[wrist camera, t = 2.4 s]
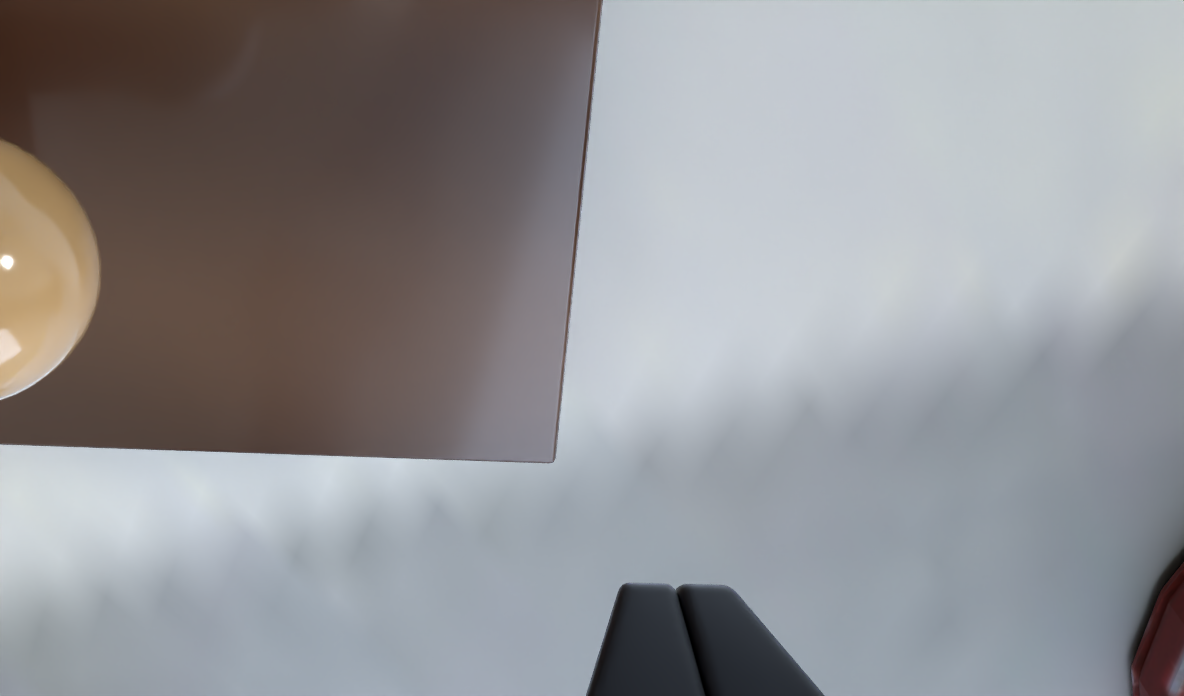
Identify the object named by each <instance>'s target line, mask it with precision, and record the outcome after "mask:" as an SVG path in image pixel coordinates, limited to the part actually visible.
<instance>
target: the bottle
mask: <svg viewBox="0 0 1184 696" xmlns="http://www.w3.org/2000/svg"><path fill="white" fill-rule="evenodd" d="M101 277H102V270H101V258H100V249H99V245H98V241H97V236H96V234H95V231H94V229H93V226H92V223H91V221H90V219H89V217H88V215H87V213H86V211H85V209H84V207H83V205H82V204H81V202H80V200H79V199H78V198H77V196H76V195H75V193H74V192H73V191H72V189H71V188H70V187H69V186H68V185H67V184H66V182H65V181H64V180H63V179H62V178H61V177H60V176H59V175H58V174H57V173H56V172H55V171H54V170H53V169H51V168H50V167H49V166H48V165H47V164H45V163H44V162H43V161H41V160H40V159H39V158H37V157H36V156H35V155H33V154H31V153H30V152H28V151H26V150H25V149H23V148H21V147H20V146H18V145H16V144H13V143H11V142H9V141H7V140H5V139H3V138H0V400H3V399H5V398H8V397H11V396H13V395H16V394H18V393H20V392H22V391H23V390H25V389H27V388H29V387H31V386H33V385H34V384H36V383H38V382H40V381H41V380H42V379H44V378H45V377H46V376H48V375H49V374H50V373H52V372H53V371H54V370H55V369H56V368H58V367H59V366H60V365H61V364H62V363H63V362H64V361H65V360H66V359H67V358H68V357H69V356H70V354H71V353H72V352H73V351H74V349H75V348H76V347H77V345H78V344H79V342H80V341H81V339H82V338H83V336H84V335H85V333H86V331H87V329H88V327H89V325H90V322H91V320H92V318H93V316H94V313H95V311H96V307H97V303H98V299H99V294H100V289H101Z"/></svg>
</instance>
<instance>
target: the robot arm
mask: <svg viewBox="0 0 1184 696" xmlns="http://www.w3.org/2000/svg"><path fill="white" fill-rule="evenodd" d="M586 696H824V695H823V693H822V692H821V691H820V690H819V689H818V687H817V686H816V685H815V684H814V683H813V682H812V680H811V679H810V678H809V677H808V676H807V675H806V673H805V672H804V671H803V670H802V669H801V668H800V666H799V665H798V664H797V663H796V662H795V661H794V659H793V658H792V657H791V656H790V655H789V654H788V652H787V651H786V650H785V649H784V648H783V647H782V645H781V644H780V643H779V642H778V641H777V639H776V638H775V637H774V636H773V635H772V634H771V632H770V631H769V630H768V629H767V628H766V627H765V625H764V624H763V623H762V622H761V621H760V620H759V618H758V617H757V616H756V615H755V614H754V613H753V611H752V610H751V609H750V608H749V607H748V606H747V604H746V603H745V602H744V601H743V600H742V598H741V597H740V596H739V595H738V594H737V593H736V592H735V591H734V590H733V589H731V588H730V587H728V586H725V585H702V584H684V585H681V586H679V587H678V588H677V589H676V590H675V589H674V588H673V587H672V586H670V585H669V584H657V583H625V584H624V585H622V586H621V587H620V589H619V591H618V594H617V597H616V600H615V603H614V607H613V610H612V613H611V616H610V620H609V623H608V626H607V629H606V632H605V636H604V639H603V642H602V645H601V649H600V652H599V655H598V658H597V662H596V665H595V668H594V671H593V675H592V678H591V681H590V684H589V687H588V691H587V694H586Z"/></svg>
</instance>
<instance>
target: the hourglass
mask: <svg viewBox="0 0 1184 696" xmlns="http://www.w3.org/2000/svg"><path fill="white" fill-rule="evenodd" d="M1131 674H1132V688H1133V696H1184V562H1183V563H1182V565H1181V566H1180V567H1179V568H1178V570H1177V571H1176V572H1175V573H1174V574H1173V576H1172V577H1171V578H1170V579H1169V581H1168V582H1167V583H1166V584H1165V586H1164V587H1163V588H1162V590H1161V591H1160V594H1159V596H1158V599H1157V602H1156V604H1155V607H1154V609H1153V612H1152V614H1151V617H1150V620H1149V622H1148V625H1147V627H1146V630H1145V632H1144V635H1143V638H1142V640H1141V643H1140V645H1139V648H1138V650H1137V653H1136V655H1135V658H1134V661H1133V663H1132V666H1131Z"/></svg>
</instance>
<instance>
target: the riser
mask: <svg viewBox="0 0 1184 696" xmlns="http://www.w3.org/2000/svg"><path fill="white" fill-rule="evenodd" d="M602 3H603V0H0V138H3V139H5V140H7V141H9V142H11V143H13V144H16V145H18V146H20V147H21V148H23V149H25V150H26V151H28V152H30V153H31V154H33V155H35V156H36V157H37V158H39V159H40V160H41V161H43V162H44V163H45V164H47V165H48V166H49V167H50V168H51V169H53V170H54V171H55V172H56V173H57V174H58V175H59V176H60V177H61V178H62V179H63V180H64V181H65V182H66V184H67V185H68V186H69V187H70V188H71V189H72V191H73V192H74V193H75V195H76V196H77V198H78V199H79V200H80V202H81V204H82V205H83V207H84V209H85V211H86V213H87V215H88V217H89V219H90V221H91V223H92V226H93V229H94V231H95V234H96V236H97V241H98V245H99V249H100V258H101V270H102V277H101V289H100V294H99V299H98V303H97V307H96V311H95V313H94V316H93V318H92V320H91V322H90V325H89V327H88V329H87V331H86V333H85V335H84V336H83V338H82V339H81V341H80V342H79V344H78V345H77V347H76V348H75V349H74V351H73V352H72V353H71V354H70V356H69V357H68V358H67V359H66V360H65V361H64V362H63V363H62V364H61V365H60V366H59V367H58V368H56V369H55V370H54V371H53V372H52V373H50V374H49V375H48V376H46V377H45V378H44V379H42V380H41V381H40V382H38V383H36V384H34V385H33V386H31V387H29V388H27V389H25V390H23V391H22V392H20V393H18V394H16V395H13V396H11V397H8V398H5V399H3V400H0V444H3V445H32V446H61V447H90V448H120V449H149V450H178V451H207V452H236V453H266V454H295V455H324V456H353V457H382V458H411V459H441V460H470V461H499V462H528V463H553V462H554V460H555V458H556V449H557V440H558V430H559V420H560V411H561V401H562V391H563V382H564V372H565V362H566V352H567V343H568V333H569V323H570V314H571V304H572V294H573V285H574V275H575V265H576V255H577V246H578V236H579V226H580V217H581V207H582V197H583V188H584V178H585V168H586V159H587V149H588V139H589V129H590V120H591V110H592V100H593V91H594V81H595V71H596V62H597V52H598V42H599V32H600V23H601V13H602Z"/></svg>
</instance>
